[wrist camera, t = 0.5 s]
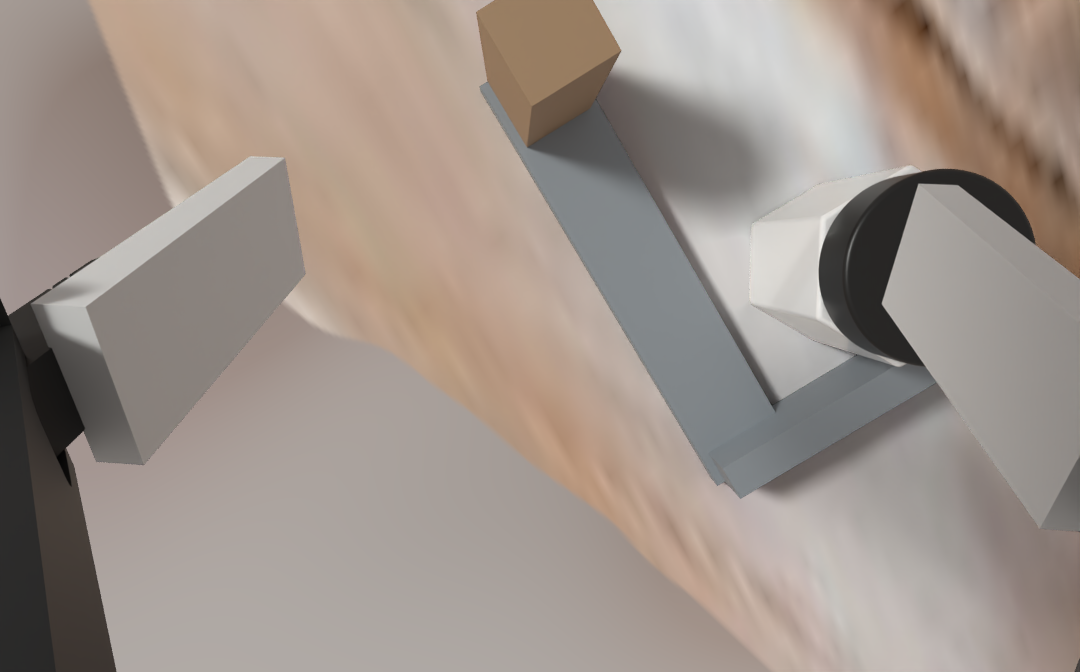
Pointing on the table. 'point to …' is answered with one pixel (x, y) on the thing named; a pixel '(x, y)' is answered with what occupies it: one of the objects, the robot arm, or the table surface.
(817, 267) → the jar
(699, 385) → the pull strip
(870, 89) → the table surface
